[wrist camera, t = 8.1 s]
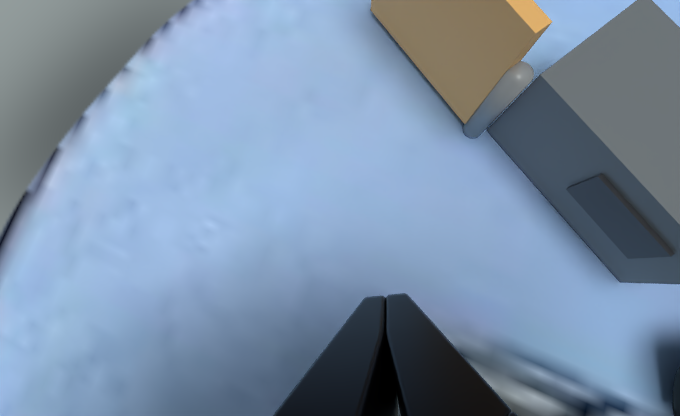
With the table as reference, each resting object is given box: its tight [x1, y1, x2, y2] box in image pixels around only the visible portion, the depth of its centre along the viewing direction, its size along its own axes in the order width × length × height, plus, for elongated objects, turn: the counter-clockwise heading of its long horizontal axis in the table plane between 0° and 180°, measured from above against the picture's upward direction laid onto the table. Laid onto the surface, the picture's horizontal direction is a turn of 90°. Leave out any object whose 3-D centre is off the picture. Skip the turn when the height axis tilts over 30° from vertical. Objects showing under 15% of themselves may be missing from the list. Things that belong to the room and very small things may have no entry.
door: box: [371, 0, 552, 138], centre depth 18 cm, size 9×1×8 cm, turn 36°
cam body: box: [487, 0, 680, 284], centre depth 17 cm, size 6×10×7 cm, turn 38°
